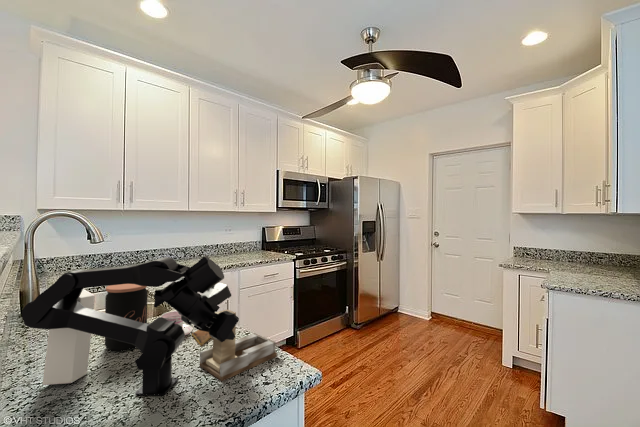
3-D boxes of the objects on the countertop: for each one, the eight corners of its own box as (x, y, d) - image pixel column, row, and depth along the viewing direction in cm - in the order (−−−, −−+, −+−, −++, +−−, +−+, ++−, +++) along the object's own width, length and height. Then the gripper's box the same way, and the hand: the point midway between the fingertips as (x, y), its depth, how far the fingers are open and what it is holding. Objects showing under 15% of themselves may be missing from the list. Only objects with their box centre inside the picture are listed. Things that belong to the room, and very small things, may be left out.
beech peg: (219, 372, 73) (220, 318, 73) (205, 363, 77) (206, 312, 77) (241, 363, 77) (242, 312, 78) (228, 355, 82) (228, 307, 82)
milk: (87, 374, 74) (97, 282, 77) (71, 383, 68) (83, 283, 72) (59, 375, 73) (71, 283, 76) (40, 385, 67) (54, 284, 71)
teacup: (198, 333, 100) (198, 314, 100) (158, 343, 92) (158, 323, 92) (185, 323, 109) (186, 306, 109) (148, 332, 101) (148, 313, 101)
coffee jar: (122, 355, 84) (123, 290, 84) (95, 349, 87) (96, 287, 87) (154, 340, 94) (155, 282, 94) (129, 335, 97) (130, 280, 97)
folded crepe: (200, 348, 90) (201, 342, 90) (178, 345, 91) (178, 339, 91) (220, 334, 100) (220, 328, 100) (199, 332, 102) (199, 326, 102)
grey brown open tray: (221, 381, 71) (222, 365, 71) (199, 366, 78) (199, 351, 78) (276, 356, 83) (277, 342, 83) (253, 345, 91) (253, 332, 91)
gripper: (232, 280, 68) (269, 316, 76) (193, 269, 81) (229, 302, 89) (198, 323, 62) (242, 358, 70) (162, 305, 75) (203, 336, 83)
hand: (229, 335), depth 78 cm, fingers closed on beech peg, 4 cm apart
